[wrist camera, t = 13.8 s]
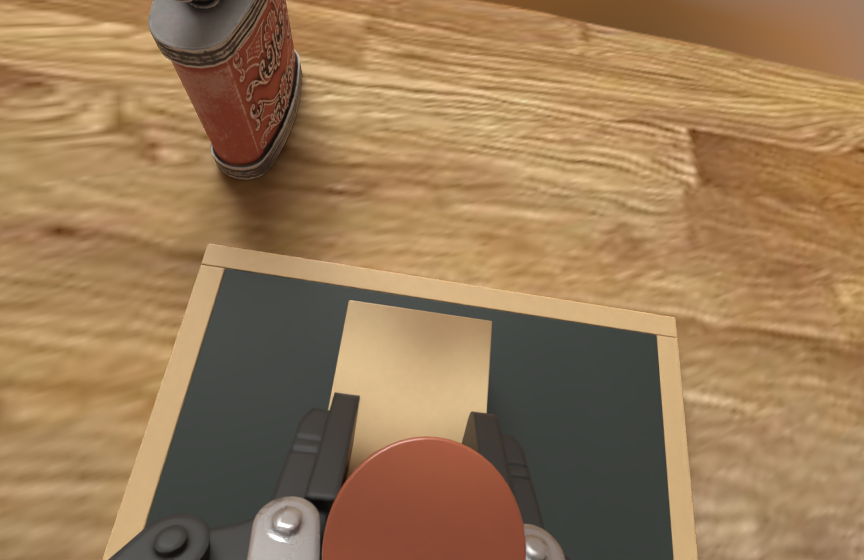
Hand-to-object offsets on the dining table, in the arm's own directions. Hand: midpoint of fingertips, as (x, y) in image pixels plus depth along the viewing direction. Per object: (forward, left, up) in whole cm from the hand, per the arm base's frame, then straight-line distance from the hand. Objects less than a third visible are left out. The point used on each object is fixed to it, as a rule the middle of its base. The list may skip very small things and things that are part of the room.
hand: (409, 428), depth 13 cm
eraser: (+1, -2, -5) cm, 5 cm away
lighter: (-14, +9, -6) cm, 18 cm away
